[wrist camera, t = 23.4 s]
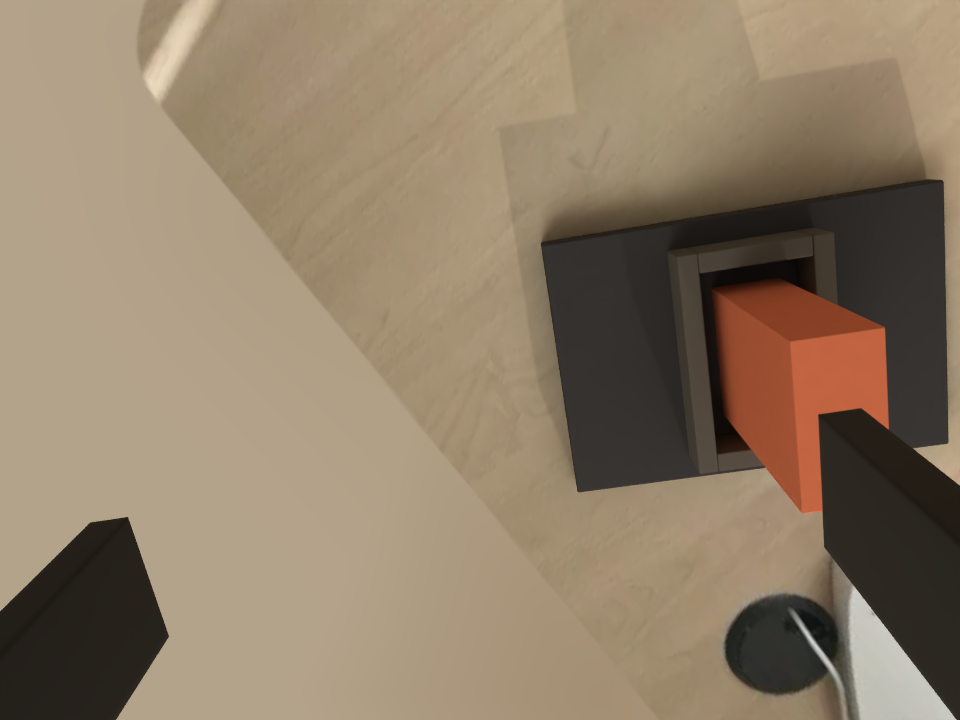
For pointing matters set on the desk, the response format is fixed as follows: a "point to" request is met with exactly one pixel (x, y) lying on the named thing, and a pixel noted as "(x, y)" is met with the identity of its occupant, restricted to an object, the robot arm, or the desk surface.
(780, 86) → the desk surface
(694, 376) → the socket base
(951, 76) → the desk surface
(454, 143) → the desk surface
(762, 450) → the orange rectangular block
